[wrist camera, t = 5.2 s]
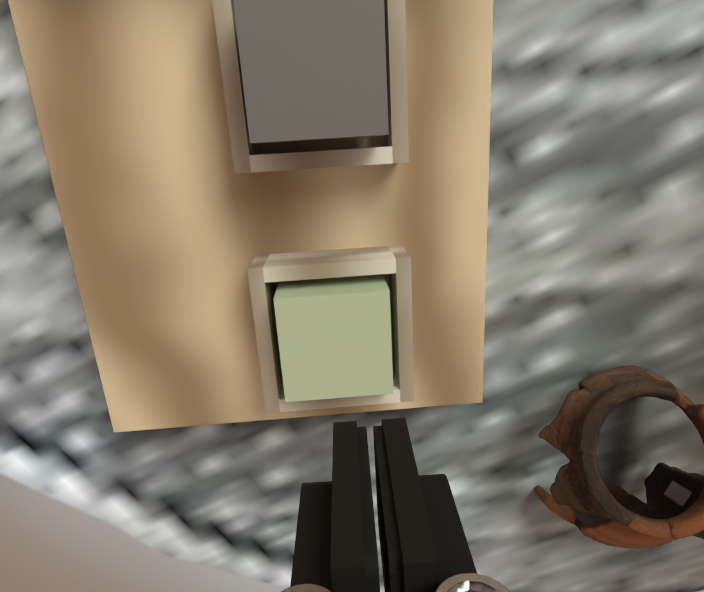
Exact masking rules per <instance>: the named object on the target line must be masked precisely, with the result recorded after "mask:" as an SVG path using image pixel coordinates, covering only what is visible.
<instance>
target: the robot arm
mask: <svg viewBox="0 0 704 592" xmlns="http://www.w3.org/2000/svg"><path fill="white" fill-rule="evenodd" d="M373 432H374V451H375V471H376V490H377V509H378V526H379V537H380V548H381V558H382V568H383V578H384V588H385V592H510V591H509V590H508V589H507V588H506V587H504V586H503V585H502V584H501V583H500V582H498V581H496V580H494V579H492V578H489V577H487V576H484V575H479V574H477V572H476V569H475V566H474V562H473V559H472V556H471V553H470V550H469V547H468V543H467V540H466V537H465V534H464V531H463V527H462V524H461V521H460V518H459V515H458V511H457V508H456V505H455V502H454V499H453V495H452V492H451V489H450V486H449V483H448V480H447V477H446V475H445V474H436V475H421V476H419V475H418V471H417V467H416V462H415V458H414V454H413V449H412V445H411V441H410V437H409V432H408V428H407V424H406V420H405V418H394V419H382V426H373ZM282 592H380V584H379V568H378V554H377V543H376V532H375V521H374V510H373V499H372V488H371V476H370V465H369V454H368V443H367V432H366V427H357V421H348V422H334V425H333V470H332V481H329V482H314V483H303V484H302V487H301V494H300V504H299V513H298V522H297V531H296V540H295V549H294V558H293V568H292V577H291V586H290V588H287V589H284V590H283V591H282Z"/></svg>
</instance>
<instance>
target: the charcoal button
mask: <svg viewBox="0 0 704 592" xmlns="http://www.w3.org/2000/svg"><path fill="white" fill-rule="evenodd" d="M233 4H234V13H235V21H236V30H237V38H238V46H239V55H240V63H241V72H242V80H243V88H244V97H245V105H246V114H247V122H248V131H249V139H250V143H272V142H288V141H304V140H320V139H336V138H353V137H369V136H381V135H389V132H388V102H387V73H386V44H385V14H384V0H233Z"/></svg>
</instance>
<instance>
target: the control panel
mask: <svg viewBox="0 0 704 592" xmlns="http://www.w3.org/2000/svg"><path fill="white" fill-rule="evenodd" d="M8 2H9V6H10V10H11V15H12V19H13V23H14V27H15V31H16V35H17V39H18V43H19V47H20V51H21V55H22V59H23V63H24V68H25V72H26V76H27V80H28V84H29V88H30V92H31V96H32V100H33V104H34V108H35V112H36V116H37V120H38V125H39V129H40V133H41V137H42V141H43V145H44V149H45V153H46V157H47V161H48V165H49V169H50V173H51V178H52V182H53V186H54V190H55V194H56V198H57V202H58V206H59V210H60V214H61V218H62V222H63V226H64V231H65V235H66V239H67V243H68V247H69V251H70V255H71V259H72V263H73V267H74V271H75V275H76V279H77V284H78V288H79V292H80V296H81V300H82V304H83V308H84V312H85V316H86V320H87V324H88V328H89V332H90V337H91V341H92V345H93V349H94V353H95V357H96V361H97V365H98V369H99V373H100V377H101V381H102V385H103V390H104V394H105V398H106V402H107V406H108V410H109V414H110V418H111V422H112V426H113V430H114V432H125V431H138V430H150V429H162V428H174V427H186V426H199V425H211V424H223V423H235V422H248V421H260V420H272V419H284V418H296V417H309V416H321V415H333V414H345V413H357V412H370V411H382V410H394V409H406V408H419V407H431V406H443V405H455V404H467V403H480V402H482V397H483V360H484V324H485V287H486V251H487V214H488V177H489V141H490V104H491V68H492V31H493V0H384V14H385V44H386V73H387V102H388V132H389V135H381V136H369V137H353V138H336V139H320V140H304V141H288V142H272V143H250V139H249V131H248V122H247V114H246V105H245V97H244V88H243V80H242V72H241V63H240V55H239V46H238V38H237V30H236V21H235V13H234V4H233V0H8ZM378 274H383V277H384V279H385V281H386V283H387V286H388V288H389V290H390V312H391V340H392V367H393V394H381V395H369V396H356V397H344V398H331V399H319V400H307V401H294V402H285V395H284V386H283V377H282V369H281V360H280V351H279V343H278V334H277V325H276V317H275V308H274V296H275V293H276V290H277V287H278V284H279V282H281V281H295V280H309V279H322V278H336V277H350V276H364V275H378Z"/></svg>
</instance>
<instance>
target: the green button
mask: <svg viewBox="0 0 704 592" xmlns="http://www.w3.org/2000/svg"><path fill="white" fill-rule="evenodd" d="M274 308H275V317H276V325H277V334H278V343H279V351H280V360H281V369H282V377H283V386H284V395H285V402H294V401H307V400H319V399H331V398H344V397H356V396H369V395H381V394H393V367H392V340H391V312H390V290H389V288H388V286H387V283H386V281H385V279H384V277H383V274H378V275H364V276H350V277H336V278H322V279H309V280H295V281H281V282H279V284H278V287H277V290H276V293H275V296H274Z"/></svg>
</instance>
